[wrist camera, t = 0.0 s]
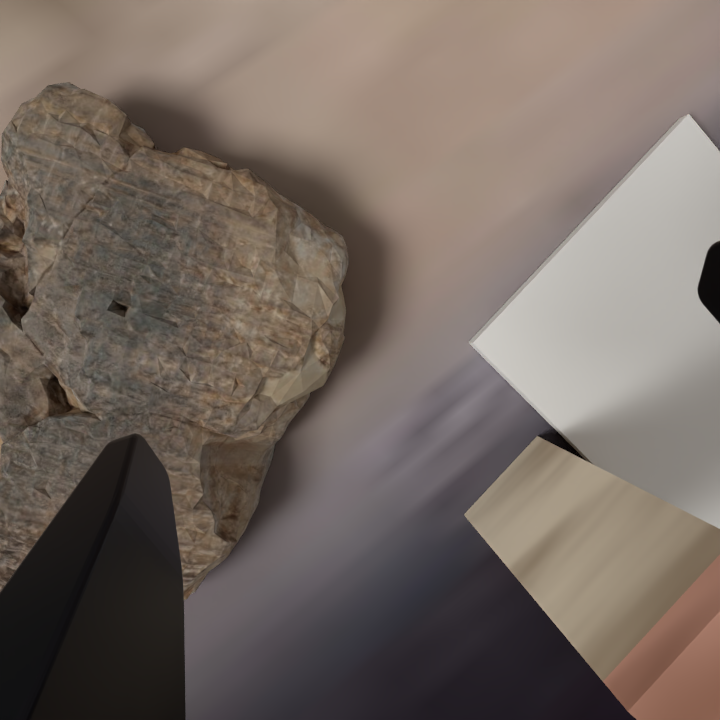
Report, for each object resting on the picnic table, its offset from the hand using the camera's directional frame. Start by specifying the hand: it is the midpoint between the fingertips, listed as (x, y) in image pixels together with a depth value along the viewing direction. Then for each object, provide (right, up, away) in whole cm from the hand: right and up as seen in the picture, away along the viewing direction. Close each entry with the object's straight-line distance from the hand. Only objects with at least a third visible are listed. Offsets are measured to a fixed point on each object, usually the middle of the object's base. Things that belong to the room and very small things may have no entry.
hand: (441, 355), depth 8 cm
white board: (+14, 0, +17) cm, 22 cm away
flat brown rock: (-11, -1, +14) cm, 18 cm away
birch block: (+7, -7, +17) cm, 19 cm away
